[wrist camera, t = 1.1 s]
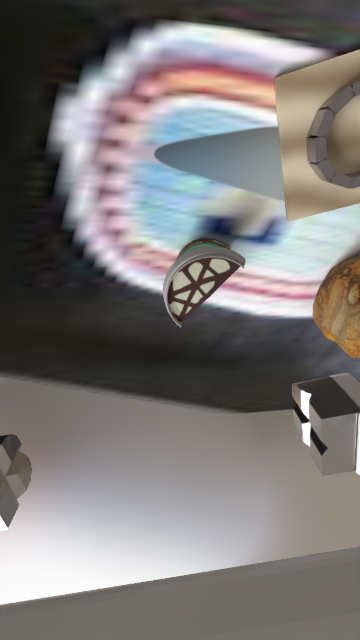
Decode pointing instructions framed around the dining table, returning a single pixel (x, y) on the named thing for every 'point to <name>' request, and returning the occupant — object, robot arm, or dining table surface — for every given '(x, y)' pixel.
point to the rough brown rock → (340, 306)
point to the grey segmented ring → (318, 138)
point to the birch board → (294, 123)
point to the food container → (198, 275)
